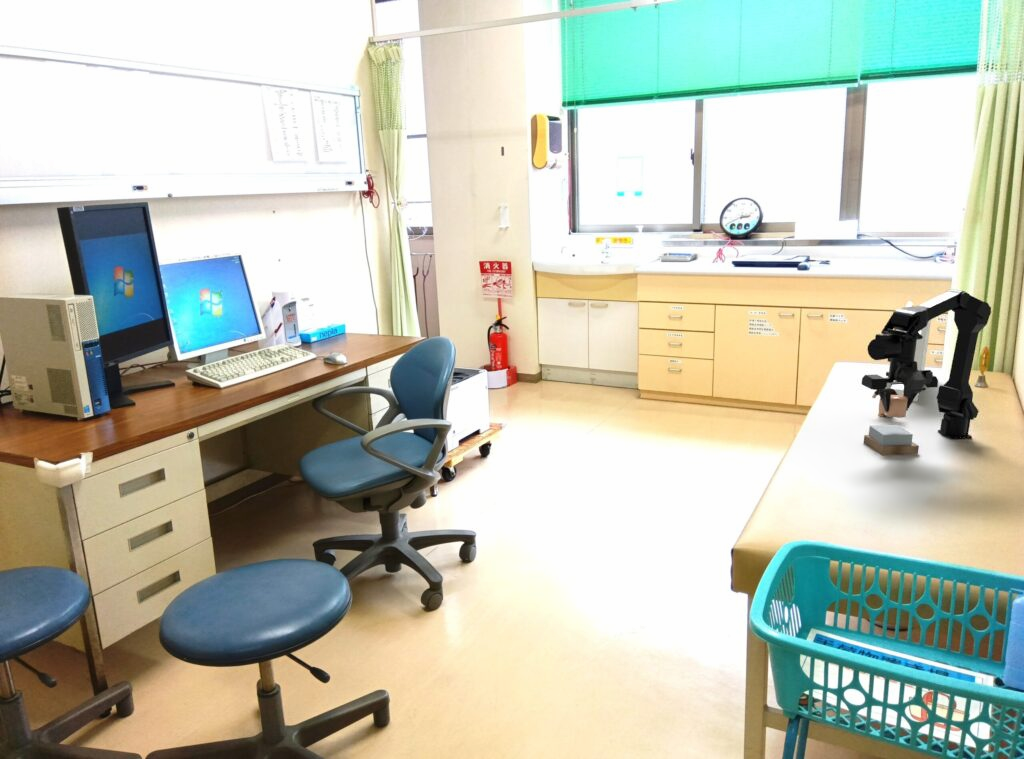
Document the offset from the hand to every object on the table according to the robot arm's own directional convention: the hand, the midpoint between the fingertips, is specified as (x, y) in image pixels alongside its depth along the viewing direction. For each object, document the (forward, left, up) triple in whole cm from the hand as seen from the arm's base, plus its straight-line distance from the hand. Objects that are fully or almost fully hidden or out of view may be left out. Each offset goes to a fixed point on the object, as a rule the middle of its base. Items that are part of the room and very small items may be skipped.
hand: (895, 411), depth 208 cm
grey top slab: (+1, 0, -8) cm, 9 cm away
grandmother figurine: (-14, -28, -11) cm, 33 cm away
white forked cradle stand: (-40, -57, -11) cm, 71 cm away
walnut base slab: (0, 0, -12) cm, 12 cm away
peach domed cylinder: (0, 0, -1) cm, 1 cm away
